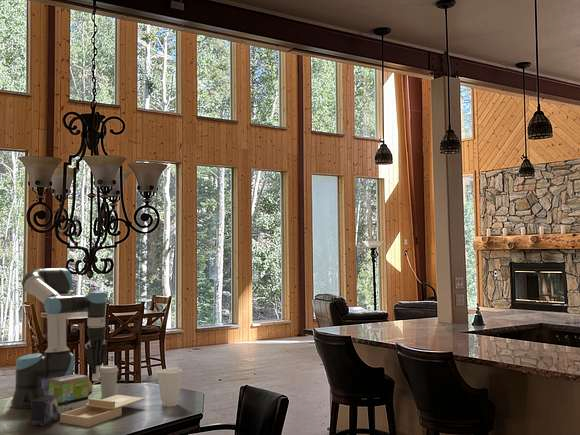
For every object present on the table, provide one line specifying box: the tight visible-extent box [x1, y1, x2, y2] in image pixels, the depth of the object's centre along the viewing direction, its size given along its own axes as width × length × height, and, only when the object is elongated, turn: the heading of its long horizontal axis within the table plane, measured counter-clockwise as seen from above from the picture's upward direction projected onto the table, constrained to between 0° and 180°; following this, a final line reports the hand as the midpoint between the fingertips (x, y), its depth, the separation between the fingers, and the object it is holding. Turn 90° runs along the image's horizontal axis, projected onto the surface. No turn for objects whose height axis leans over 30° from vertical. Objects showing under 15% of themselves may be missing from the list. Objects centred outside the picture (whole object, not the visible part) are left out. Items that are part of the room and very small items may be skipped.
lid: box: [86, 394, 146, 409], centre depth 282 cm, size 17×20×3 cm
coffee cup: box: [99, 364, 120, 399], centre depth 309 cm, size 10×10×15 cm
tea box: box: [48, 373, 90, 414], centre depth 285 cm, size 15×10×15 cm
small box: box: [30, 394, 59, 427], centre depth 263 cm, size 11×6×10 cm, turn 168°
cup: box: [156, 368, 183, 408], centre depth 292 cm, size 12×12×16 cm
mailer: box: [59, 406, 123, 427], centre depth 268 cm, size 16×20×4 cm
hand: (95, 380), depth 271 cm, fingers closed
